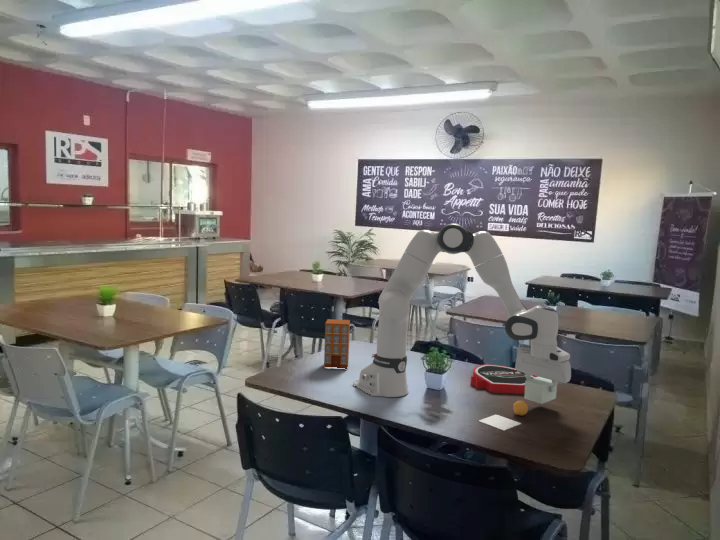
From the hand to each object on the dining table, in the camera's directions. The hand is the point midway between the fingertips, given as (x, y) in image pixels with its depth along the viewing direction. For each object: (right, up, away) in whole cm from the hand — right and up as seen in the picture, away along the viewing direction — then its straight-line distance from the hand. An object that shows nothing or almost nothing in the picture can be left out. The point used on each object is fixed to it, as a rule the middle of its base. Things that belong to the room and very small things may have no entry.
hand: (540, 388), depth 201 cm
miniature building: (-75, 0, +42) cm, 86 cm away
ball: (-9, -5, -8) cm, 13 cm away
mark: (-19, -8, -15) cm, 25 cm away
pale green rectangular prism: (0, -4, 0) cm, 4 cm away
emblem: (-6, -4, +31) cm, 31 cm away
